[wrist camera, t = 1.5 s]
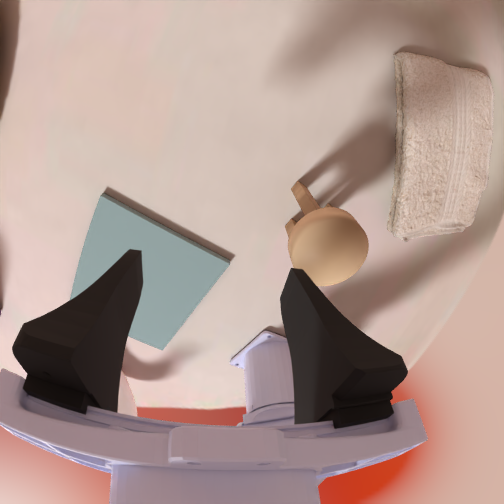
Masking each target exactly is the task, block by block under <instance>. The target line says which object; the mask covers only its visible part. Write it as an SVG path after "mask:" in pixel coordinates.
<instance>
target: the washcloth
mask: <svg viewBox="0 0 504 504" xmlns="http://www.w3.org/2000/svg"><path fill="white" fill-rule="evenodd" d="M393 55H394V56H395V57H394V58H395V60H394V63H395V68H396V69H395V75H396V77H395V81H396V86H397V87H396V89H395V90H396V98H397V111H396V112H397V116H396V117H397V122H396V128H397V132H396V136H395V138H396V140H395V141H396V152H395V153H396V163H395V171H394V174H395V179H394V187H393V194H392V200H391V207H390V213H389V220H388V223H387V230H388V231H389V232H393V236H394V237H398V238H400V239H401V240H402V241H403V242H407V241H409V240H410V239H413V238H418V237H423V236H433V235H441V234H451V233H456V232H464V230H465V228H466V227H469V226H471V225H472V223H473V222H474V220H475V216H476V211H477V208H478V205H479V202H480V198H481V196H482V193H483V190H484V189H486V188H487V185H488V170H489V162H490V155H491V149H492V142H493V140H492V138H493V112H494V92H493V87H492V84H491V81H490V78H489V77H488V76H487V75H486V74H484V73H482V72H481V71H478V70H474V69H470V68H462V67H459V68H458V67H456V66H452V65H449V64H446V63H445V62H444V61H443V60H439V59H436V58H433V57H428V56H426V55H417V54H414V53H409V52H398V53H397V54H393Z"/></svg>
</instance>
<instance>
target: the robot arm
mask: <svg viewBox="0 0 504 504" xmlns="http://www.w3.org/2000/svg"><path fill="white" fill-rule="evenodd" d="M142 288H143V268H142V250H134V249H129V250H128V251H127V252H126V253H125V254H124V255H123V256H122V257H121V258H120V259H119V260H118V261H116V262H115V263H114V264H113V265H112V266H111V267H110V268H109V269H108V270H107V271H106V272H105V273H104V274H103V275H102V276H101V277H100V278H98V279H97V280H96V281H95V282H94V283H93V284H92V285H90V286H89V287H88V288H87V289H85V290H84V291H83V292H81V293H80V294H79V295H77V296H76V297H74V298H73V299H71V300H70V301H68V302H67V303H65V304H63V305H62V306H60V307H58V308H57V309H55V310H53V311H51V312H49V313H47V314H45V315H43V316H41V317H38V318H36V319H34V320H31V321H29V322H26V323H24V324H23V326H22V328H21V330H20V332H19V334H18V336H17V338H16V340H15V342H14V344H13V347H12V350H13V354H14V356H15V358H16V359H17V361H18V362H19V363H20V365H21V366H22V367H23V369H24V370H25V371H26V373H27V377H26V380H25V379H24V378H23V377H21V376H19V375H17V374H15V373H12V372H10V371H8V370H6V369H2V370H1V372H0V425H1V426H2V427H4V428H5V429H6V430H8V431H9V432H11V433H12V434H13V435H15V436H17V437H19V438H21V439H23V440H25V441H27V442H29V443H31V444H34V445H35V446H38V447H40V448H42V449H44V450H47V451H49V452H51V453H54V454H56V455H58V456H61V457H63V458H66V459H69V460H71V461H74V462H77V463H79V464H82V465H86V466H88V467H92V468H95V469H98V470H101V471H104V472H108V473H111V485H110V502H109V503H110V504H320V498H319V492H318V485H319V484H320V483H321V482H322V481H323V480H324V479H325V478H326V477H329V476H334V475H338V474H341V473H346V472H349V471H353V470H356V469H360V468H363V467H366V466H370V465H373V464H376V463H379V462H382V461H385V460H388V459H391V458H394V457H397V456H399V455H401V454H403V453H405V452H407V451H408V450H410V449H412V448H414V447H416V446H418V445H419V444H421V443H423V442H425V441H427V439H428V438H427V435H426V432H425V429H424V426H423V423H422V420H421V417H420V415H419V412H418V409H417V406H416V404H415V401H414V399H409V400H406V401H401V402H398V403H395V404H393V405H391V403H390V400H391V399H392V398H393V396H392V393H391V391H392V390H394V388H396V387H397V386H398V385H399V384H400V383H401V382H402V381H403V380H404V379H405V377H406V376H407V373H408V370H407V368H406V366H405V363H404V361H403V359H402V357H401V356H400V355H398V354H397V353H395V352H393V351H391V350H389V349H387V348H385V347H384V346H382V345H380V344H379V343H377V342H376V341H374V340H373V339H371V338H370V337H368V336H367V335H366V334H364V333H363V332H362V331H361V330H359V329H358V328H357V327H356V326H354V325H353V324H352V323H351V322H350V321H349V320H348V319H347V318H345V317H344V316H343V315H342V314H341V313H340V312H339V311H338V310H337V309H336V308H335V307H334V305H333V304H332V303H331V302H330V301H329V300H328V299H327V298H326V297H325V295H324V294H323V293H322V292H321V291H320V289H319V288H318V287H317V286H316V285H315V283H314V282H313V281H312V280H311V278H310V277H309V276H308V275H307V274H306V272H305V271H304V270H303V269H297V268H291V270H290V272H289V275H288V278H287V281H286V283H285V286H284V289H283V292H282V294H281V297H280V302H281V314H282V320H283V324H284V329H285V333H286V337H287V338H285V337H283V336H280V335H277V334H275V333H272V332H270V331H263V332H262V333H261V334H260V335H259V336H258V337H256V338H255V339H254V340H253V341H252V342H251V343H250V344H249V345H247V346H246V347H245V348H244V349H243V350H242V351H241V352H240V353H238V354H237V355H236V356H235V357H234V358H233V359H232V360H230V365H233V366H236V367H239V368H242V369H244V379H245V394H246V409H247V414H244V415H243V422H241V423H238V424H237V426H217V425H215V426H214V425H200V424H188V423H178V422H170V421H162V420H155V419H148V418H141V417H137V416H131V415H126V414H121V413H118V395H119V385H120V376H121V369H122V362H123V356H124V350H125V345H126V341H127V337H128V334H129V331H130V328H131V325H132V322H133V319H134V316H135V313H136V310H137V307H138V304H139V301H140V297H141V292H142Z"/></svg>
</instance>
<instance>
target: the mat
mask: <svg viewBox="0 0 504 504" xmlns="http://www.w3.org/2000/svg"><path fill="white" fill-rule="evenodd" d="M129 249H134V250H142V268H143V288H142V292H141V297H140V301H139V304H138V307H137V310H136V313H135V316H134V319H133V322H132V325H131V328H130V331H129V334H128V336H129V337H131V338H134V339H136V340H138V341H141V342H143V343H145V344H148V345H150V346H153V347H155V348H158V349H160V350H163V349H164V348H165V347H166V345H167V344H168V343H169V341H170V340H171V339H172V338H173V336H174V335H175V334H176V332H177V331H178V330H179V329H180V327H181V326H182V325H183V323H184V322H185V321H186V320H187V318H188V317H189V316H190V314H191V313H192V312H193V311H194V309H195V308H196V307H197V305H198V304H199V303H200V302H201V300H202V299H203V298H204V297H205V295H206V294H207V293H208V291H209V290H210V289H211V288H212V286H213V285H214V284H215V283H216V281H217V280H218V279H219V277H220V276H221V275H222V274H223V272H224V271H225V270H226V269H227V267H228V266H229V265H230V260H228V259H226V258H224V257H223V256H221V255H219V254H217V253H215V252H213V251H211V250H209V249H207V248H205V247H203V246H201V245H200V244H198V243H196V242H194V241H192V240H190V239H188V238H186V237H184V236H182V235H181V234H179V233H177V232H175V231H173V230H171V229H169V228H167V227H165V226H164V225H162V224H160V223H158V222H156V221H154V220H152V219H151V218H149V217H147V216H145V215H143V214H141V213H139V212H138V211H136V210H134V209H132V208H130V207H128V206H126V205H125V204H123V203H121V202H119V201H117V200H115V199H114V198H112V197H110V196H108V195H106V194H105V193H103V194H102V195H101V196H100V199H99V201H98V204H97V207H96V209H95V212H94V215H93V218H92V221H91V224H90V227H89V230H88V233H87V236H86V239H85V243H84V246H83V250H82V253H81V257H80V260H79V264H78V268H77V272H76V276H75V280H74V284H73V288H72V293H71V298H70V300H71V299H73V298H74V297H76V296H77V295H79V294H80V293H81V292H83V291H84V290H85V289H87V288H88V287H89V286H90V285H92V284H93V283H94V282H95V281H96V280H97V279H98V278H100V277H101V276H102V275H103V274H104V273H105V272H106V271H107V270H108V269H109V268H110V267H111V266H112V265H113V264H114V263H115V262H116V261H118V260H119V259H120V258H121V257H122V256H123V255H124V254H125V253H126V252H127V251H128V250H129Z"/></svg>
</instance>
